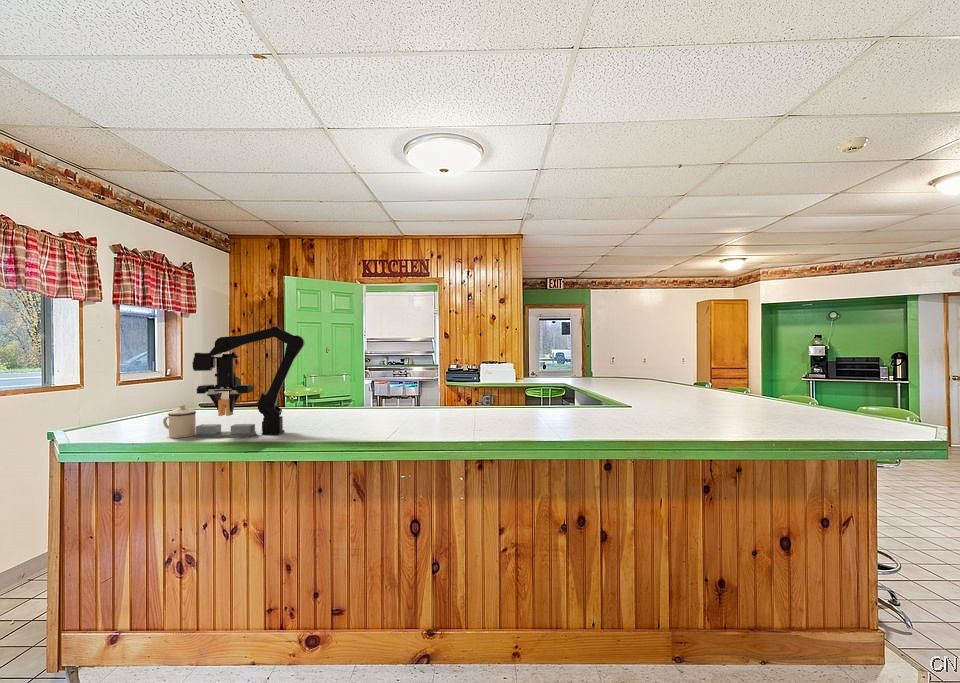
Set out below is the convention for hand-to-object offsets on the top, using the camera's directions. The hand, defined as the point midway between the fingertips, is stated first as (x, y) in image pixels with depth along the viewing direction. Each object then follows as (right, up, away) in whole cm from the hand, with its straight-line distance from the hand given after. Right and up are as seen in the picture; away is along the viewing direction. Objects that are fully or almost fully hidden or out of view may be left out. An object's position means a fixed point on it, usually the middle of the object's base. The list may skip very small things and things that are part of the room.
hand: (225, 411), depth 187 cm
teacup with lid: (-18, -9, +1) cm, 20 cm away
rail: (0, -9, 0) cm, 9 cm away
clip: (0, -1, 0) cm, 1 cm away
